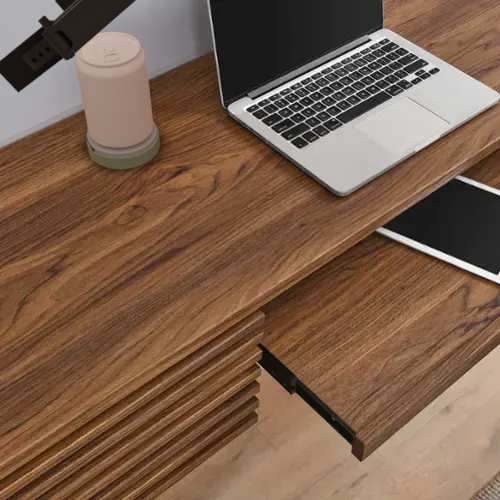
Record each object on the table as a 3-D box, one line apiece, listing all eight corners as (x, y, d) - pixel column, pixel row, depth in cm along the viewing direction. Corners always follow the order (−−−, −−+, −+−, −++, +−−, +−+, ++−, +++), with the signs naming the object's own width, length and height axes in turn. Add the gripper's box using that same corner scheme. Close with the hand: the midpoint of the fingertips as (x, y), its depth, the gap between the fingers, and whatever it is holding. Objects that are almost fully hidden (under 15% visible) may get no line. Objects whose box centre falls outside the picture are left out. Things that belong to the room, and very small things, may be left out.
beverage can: (147, 108, 100) (138, 25, 91) (159, 145, 94) (150, 61, 86) (85, 118, 98) (70, 34, 90) (93, 156, 93) (77, 72, 84)
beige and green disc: (101, 177, 94) (99, 162, 92) (78, 136, 100) (75, 121, 98) (171, 156, 97) (169, 141, 95) (144, 117, 102) (143, 102, 101)
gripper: (223, -1, 49) (14, 149, 59) (277, -110, 68) (111, 18, 78) (145, -103, 45) (-62, 74, 56) (225, -188, 64) (59, -43, 75)
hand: (39, 42), depth 67 cm, fingers open, 13 cm apart
